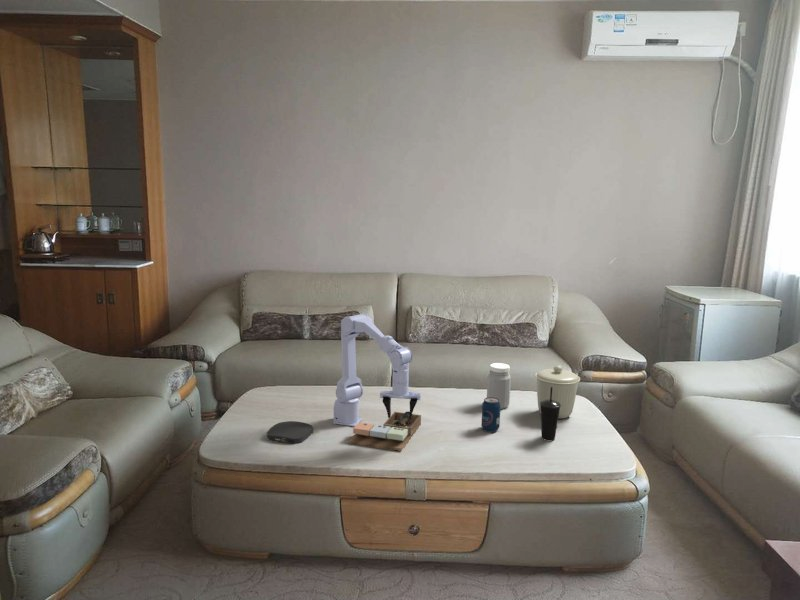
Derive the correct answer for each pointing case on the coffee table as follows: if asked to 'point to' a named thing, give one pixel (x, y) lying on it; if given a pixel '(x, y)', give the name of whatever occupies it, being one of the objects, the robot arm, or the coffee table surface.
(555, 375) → the canister
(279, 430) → the media streaming box
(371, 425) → the tile
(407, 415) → the eagle figurine
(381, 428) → the tile
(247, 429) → the coffee table surface
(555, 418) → the drinking cup
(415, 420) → the board
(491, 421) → the soda can
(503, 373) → the jar
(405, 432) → the tile
